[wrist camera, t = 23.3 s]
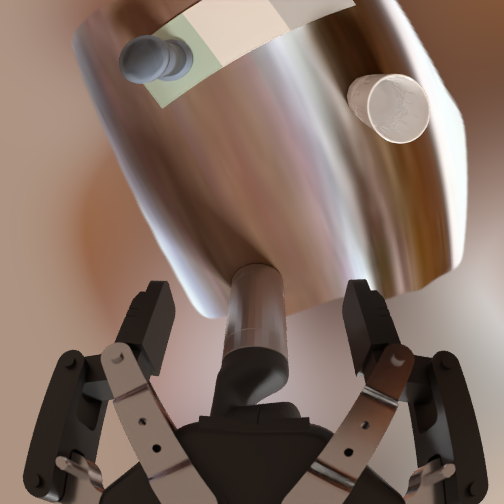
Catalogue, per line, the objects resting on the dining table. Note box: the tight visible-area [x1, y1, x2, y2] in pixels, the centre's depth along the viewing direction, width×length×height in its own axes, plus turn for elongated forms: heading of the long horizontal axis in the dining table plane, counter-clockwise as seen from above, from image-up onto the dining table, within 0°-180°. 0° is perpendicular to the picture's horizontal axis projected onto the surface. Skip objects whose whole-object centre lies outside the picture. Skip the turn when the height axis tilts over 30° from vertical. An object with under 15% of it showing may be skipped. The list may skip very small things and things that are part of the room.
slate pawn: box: [119, 35, 193, 84], centre depth 26 cm, size 6×6×10 cm
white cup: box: [347, 74, 430, 143], centre depth 29 cm, size 8×8×10 cm
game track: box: [143, 0, 355, 109], centre depth 27 cm, size 10×30×1 cm, turn 122°
